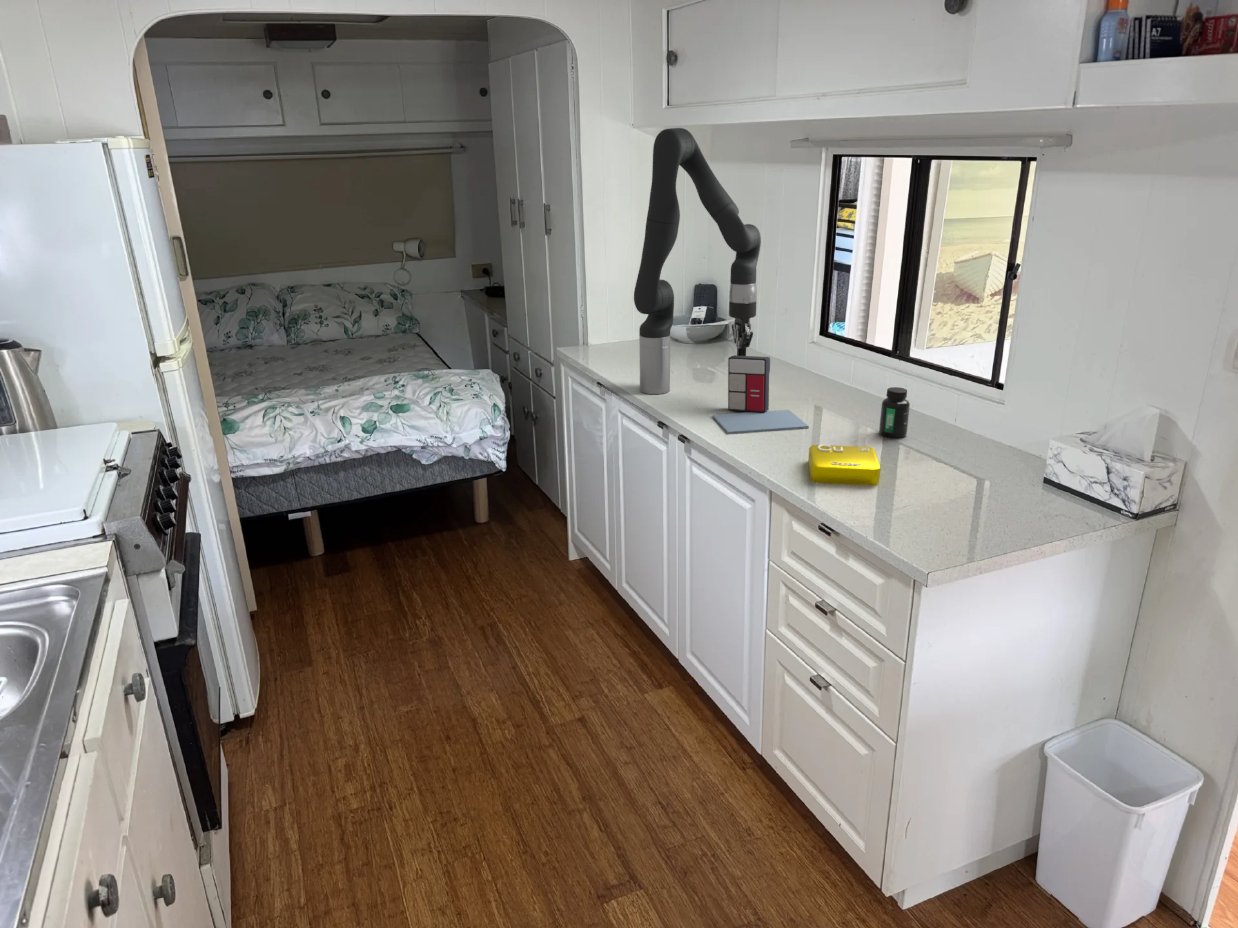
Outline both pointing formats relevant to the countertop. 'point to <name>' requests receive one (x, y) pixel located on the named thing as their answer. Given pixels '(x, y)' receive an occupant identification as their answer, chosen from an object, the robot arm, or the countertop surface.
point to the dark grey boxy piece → (748, 383)
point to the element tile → (843, 465)
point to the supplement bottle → (894, 414)
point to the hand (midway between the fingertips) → (741, 360)
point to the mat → (759, 421)
